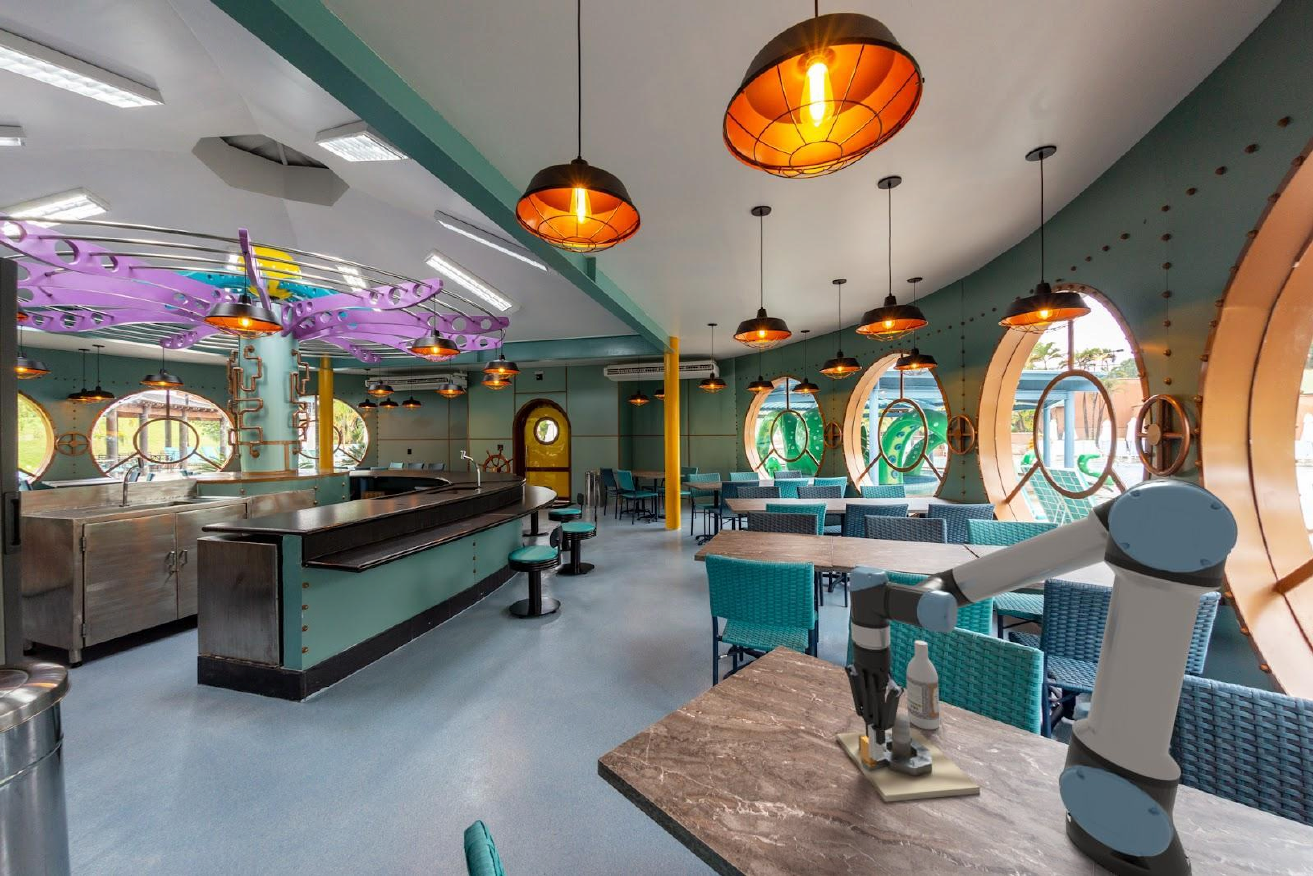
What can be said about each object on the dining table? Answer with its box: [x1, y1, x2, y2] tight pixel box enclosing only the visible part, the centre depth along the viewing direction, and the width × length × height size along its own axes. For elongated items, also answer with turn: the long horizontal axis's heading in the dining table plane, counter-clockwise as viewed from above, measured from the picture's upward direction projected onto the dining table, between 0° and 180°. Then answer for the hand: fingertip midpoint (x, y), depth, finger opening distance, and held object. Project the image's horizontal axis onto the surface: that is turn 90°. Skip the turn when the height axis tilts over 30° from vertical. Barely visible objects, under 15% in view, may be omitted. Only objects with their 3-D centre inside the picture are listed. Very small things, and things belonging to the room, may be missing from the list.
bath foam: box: [906, 640, 940, 730], centre depth 118 cm, size 7×7×20 cm
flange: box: [861, 733, 932, 776], centre depth 101 cm, size 16×11×6 cm
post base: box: [836, 712, 981, 803], centre depth 102 cm, size 20×20×10 cm
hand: (876, 756), depth 97 cm, fingers closed
